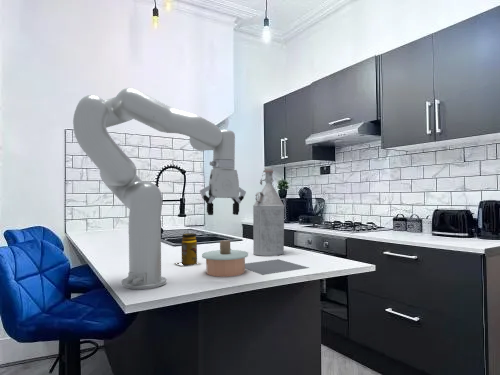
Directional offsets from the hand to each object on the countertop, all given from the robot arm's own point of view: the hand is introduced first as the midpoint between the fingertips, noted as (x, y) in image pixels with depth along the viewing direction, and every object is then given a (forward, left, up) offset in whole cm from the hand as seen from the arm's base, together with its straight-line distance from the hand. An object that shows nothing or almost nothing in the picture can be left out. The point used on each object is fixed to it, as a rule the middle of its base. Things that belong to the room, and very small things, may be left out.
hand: (223, 214), depth 123 cm
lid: (0, 0, -14) cm, 14 cm away
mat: (+12, -14, -20) cm, 28 cm away
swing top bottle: (+40, -8, -21) cm, 46 cm away
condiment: (+13, +20, -21) cm, 31 cm away
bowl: (0, 0, -20) cm, 20 cm away
